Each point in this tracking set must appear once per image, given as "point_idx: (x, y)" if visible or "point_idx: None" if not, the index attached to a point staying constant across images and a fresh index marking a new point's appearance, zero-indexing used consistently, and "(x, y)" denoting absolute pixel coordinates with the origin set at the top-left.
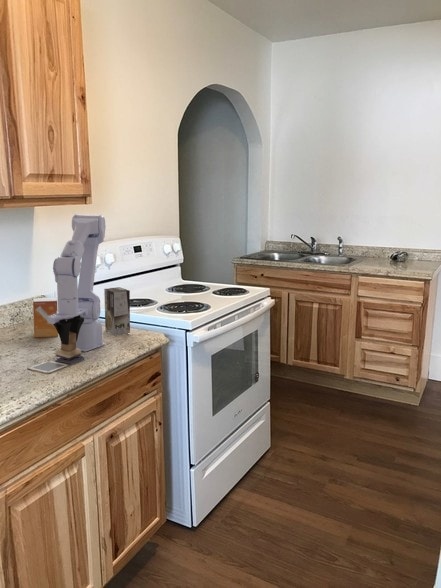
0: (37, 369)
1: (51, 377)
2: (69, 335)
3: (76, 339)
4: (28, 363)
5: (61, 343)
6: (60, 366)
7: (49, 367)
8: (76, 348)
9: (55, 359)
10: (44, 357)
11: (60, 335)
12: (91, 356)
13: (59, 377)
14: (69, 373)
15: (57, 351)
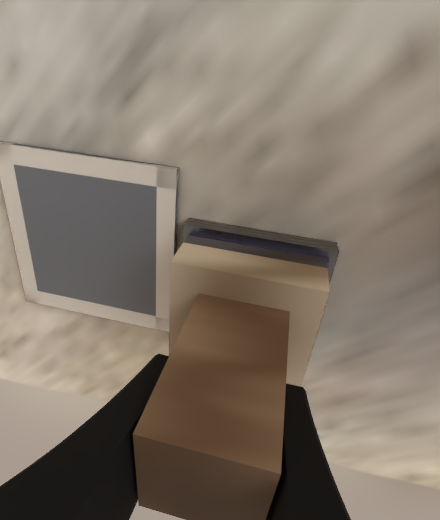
0: (18, 219)
1: (15, 330)
2: (150, 504)
3: None
4: (71, 43)
5: (180, 337)
6: (128, 303)
7: (82, 259)
8: (293, 372)
9: (186, 227)
10: (253, 48)
11: (103, 427)
12: (393, 364)
13: (37, 357)
14: (94, 372)
15: (173, 271)
